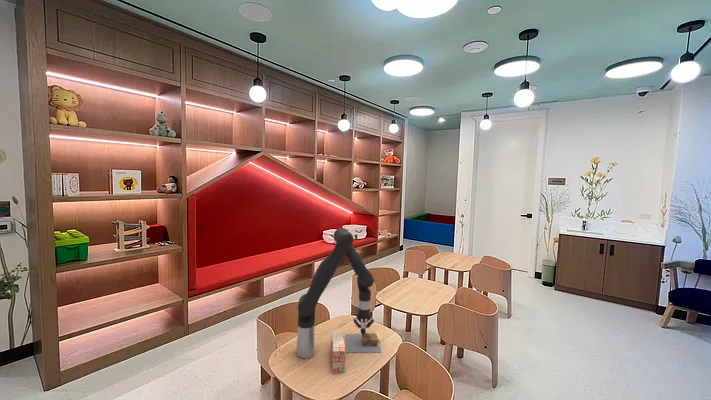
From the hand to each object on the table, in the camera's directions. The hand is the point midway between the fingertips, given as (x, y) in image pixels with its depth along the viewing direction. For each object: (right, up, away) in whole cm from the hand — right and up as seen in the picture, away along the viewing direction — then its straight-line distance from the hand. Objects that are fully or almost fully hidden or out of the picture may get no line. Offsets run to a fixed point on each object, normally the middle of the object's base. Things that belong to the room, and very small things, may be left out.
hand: (362, 333), depth 173 cm
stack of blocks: (-15, -7, -15) cm, 22 cm away
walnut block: (0, -4, 0) cm, 4 cm away
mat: (0, -6, +1) cm, 6 cm away
